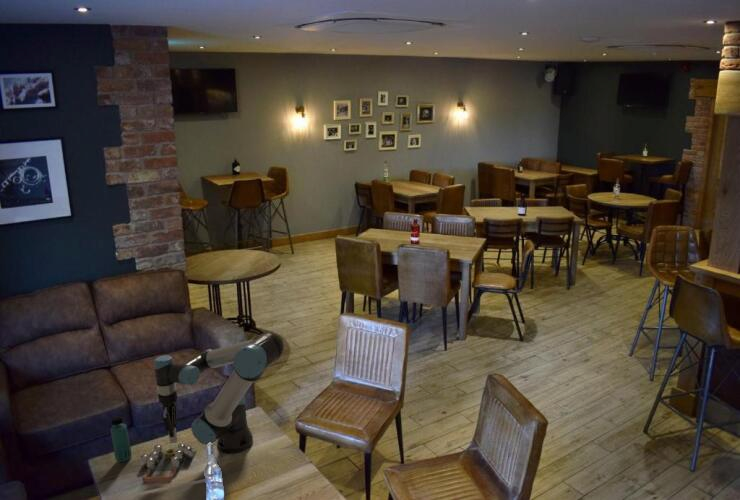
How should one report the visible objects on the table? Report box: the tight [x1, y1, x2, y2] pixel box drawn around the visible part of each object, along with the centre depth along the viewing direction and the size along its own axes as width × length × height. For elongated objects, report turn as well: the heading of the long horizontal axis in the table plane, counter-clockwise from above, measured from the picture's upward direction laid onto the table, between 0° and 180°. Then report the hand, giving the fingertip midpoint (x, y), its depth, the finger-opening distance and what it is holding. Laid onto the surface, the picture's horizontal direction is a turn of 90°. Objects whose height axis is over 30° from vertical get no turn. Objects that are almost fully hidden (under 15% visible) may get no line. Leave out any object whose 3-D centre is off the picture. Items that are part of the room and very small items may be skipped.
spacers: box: [140, 443, 194, 473], centre depth 238 cm, size 19×12×5 cm, turn 91°
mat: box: [138, 450, 198, 473], centre depth 240 cm, size 20×13×1 cm, turn 91°
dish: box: [142, 467, 177, 483], centre depth 230 cm, size 11×6×3 cm, turn 91°
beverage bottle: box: [110, 415, 132, 463], centre depth 241 cm, size 6×7×20 cm
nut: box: [164, 448, 176, 460], centre depth 242 cm, size 4×5×3 cm
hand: (173, 441), depth 248 cm, fingers closed
